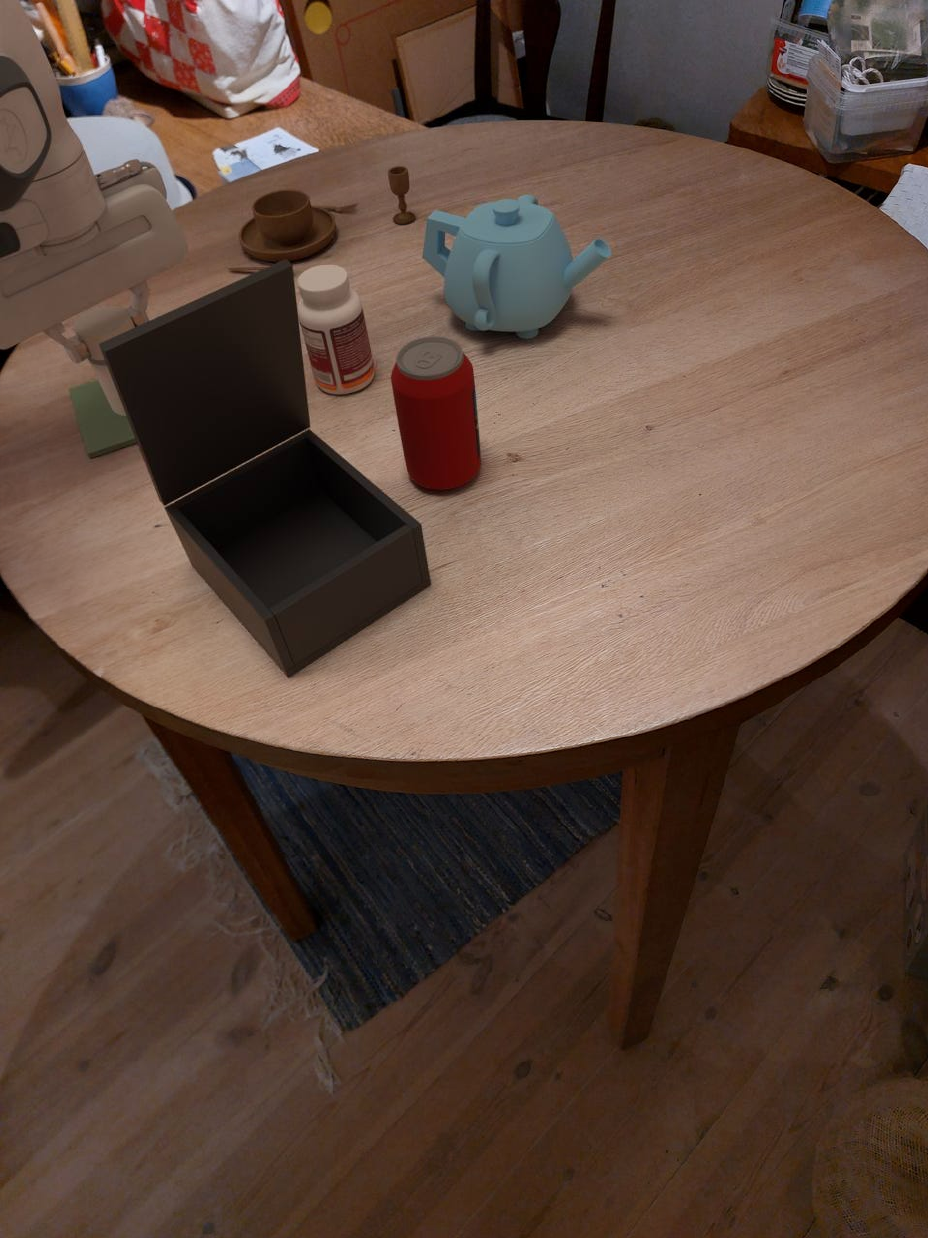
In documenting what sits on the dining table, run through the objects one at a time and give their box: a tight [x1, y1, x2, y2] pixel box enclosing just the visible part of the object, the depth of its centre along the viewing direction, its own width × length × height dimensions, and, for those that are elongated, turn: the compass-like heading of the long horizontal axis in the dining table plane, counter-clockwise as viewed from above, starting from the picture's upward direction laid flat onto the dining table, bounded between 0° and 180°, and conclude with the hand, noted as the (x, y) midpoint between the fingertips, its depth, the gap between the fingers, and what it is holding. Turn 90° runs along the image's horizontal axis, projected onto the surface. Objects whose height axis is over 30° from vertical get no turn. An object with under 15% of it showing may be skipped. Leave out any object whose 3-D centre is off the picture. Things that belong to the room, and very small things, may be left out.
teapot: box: [421, 194, 612, 339], centre depth 89 cm, size 20×17×12 cm
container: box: [73, 305, 135, 416], centre depth 84 cm, size 5×5×9 cm
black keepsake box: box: [164, 428, 432, 678], centre depth 69 cm, size 16×14×7 cm
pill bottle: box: [297, 264, 376, 395], centre depth 84 cm, size 6×6×11 cm
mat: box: [68, 379, 137, 459], centre depth 88 cm, size 12×12×1 cm
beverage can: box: [390, 336, 482, 491], centre depth 74 cm, size 7×7×12 cm
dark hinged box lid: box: [99, 259, 311, 507], centre depth 63 cm, size 16×14×1 cm
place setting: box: [227, 165, 417, 272], centre depth 104 cm, size 18×20×6 cm
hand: (111, 342), depth 83 cm, fingers closed on container, 5 cm apart
